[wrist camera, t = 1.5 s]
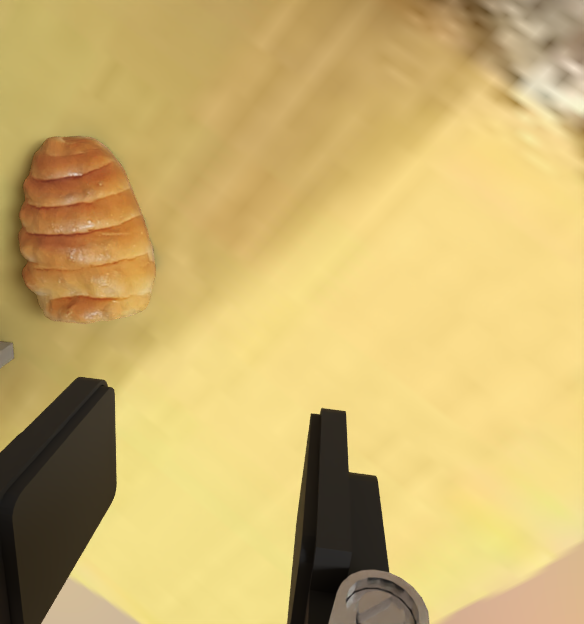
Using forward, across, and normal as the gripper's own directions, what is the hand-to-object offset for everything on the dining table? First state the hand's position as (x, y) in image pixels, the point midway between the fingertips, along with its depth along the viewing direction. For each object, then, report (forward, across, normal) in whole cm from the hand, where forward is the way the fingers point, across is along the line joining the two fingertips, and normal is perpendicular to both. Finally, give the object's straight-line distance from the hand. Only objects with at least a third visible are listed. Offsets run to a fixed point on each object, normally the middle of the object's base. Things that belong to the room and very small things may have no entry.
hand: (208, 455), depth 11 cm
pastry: (+18, +10, 0) cm, 21 cm away
